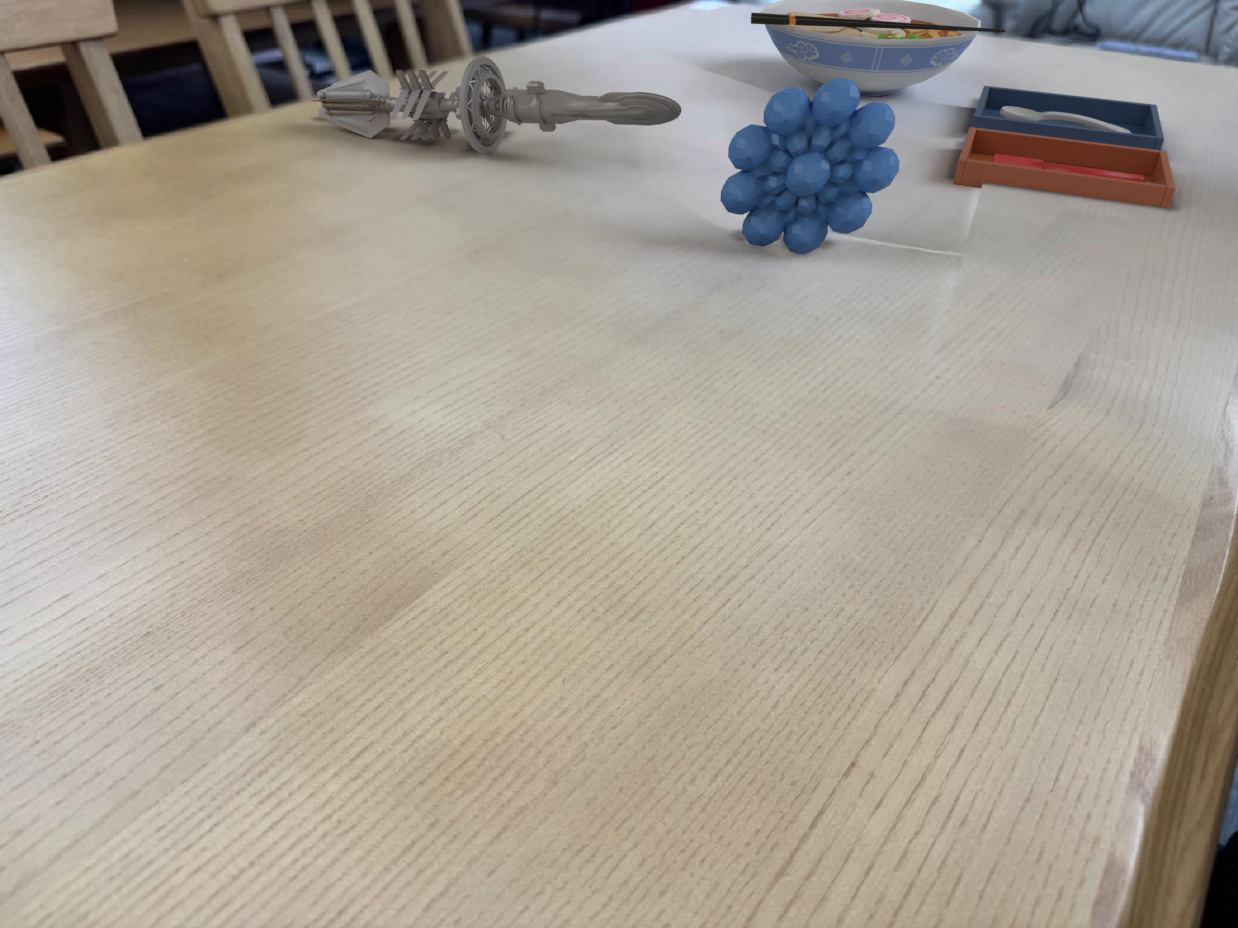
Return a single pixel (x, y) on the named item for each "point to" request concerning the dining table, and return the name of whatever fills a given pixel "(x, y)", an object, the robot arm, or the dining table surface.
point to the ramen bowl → (868, 40)
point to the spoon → (1057, 118)
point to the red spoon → (1064, 167)
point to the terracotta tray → (1065, 152)
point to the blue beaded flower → (810, 166)
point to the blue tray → (1119, 113)
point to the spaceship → (479, 105)
